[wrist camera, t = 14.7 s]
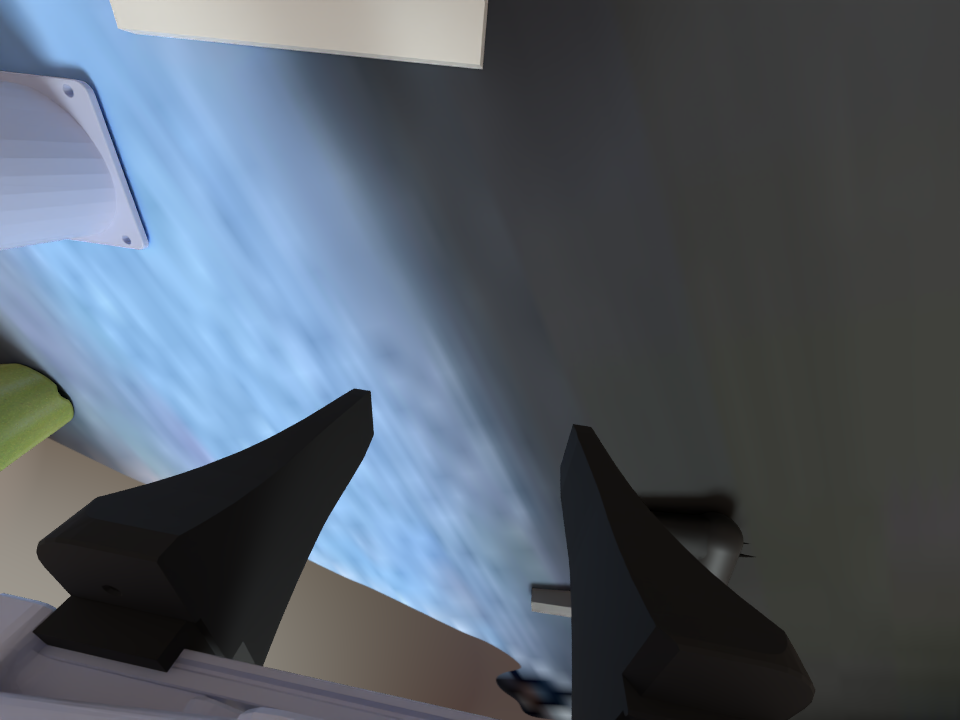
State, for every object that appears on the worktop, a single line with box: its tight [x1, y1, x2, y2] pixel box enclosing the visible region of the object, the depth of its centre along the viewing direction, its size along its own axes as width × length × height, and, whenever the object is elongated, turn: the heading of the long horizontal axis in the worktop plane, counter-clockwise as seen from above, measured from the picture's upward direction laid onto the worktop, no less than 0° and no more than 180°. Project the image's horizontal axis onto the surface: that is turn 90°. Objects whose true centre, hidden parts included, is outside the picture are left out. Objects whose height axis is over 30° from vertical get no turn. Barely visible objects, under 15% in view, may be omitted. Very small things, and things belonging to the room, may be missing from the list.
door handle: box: [531, 511, 754, 617], centre depth 30 cm, size 3×20×16 cm
